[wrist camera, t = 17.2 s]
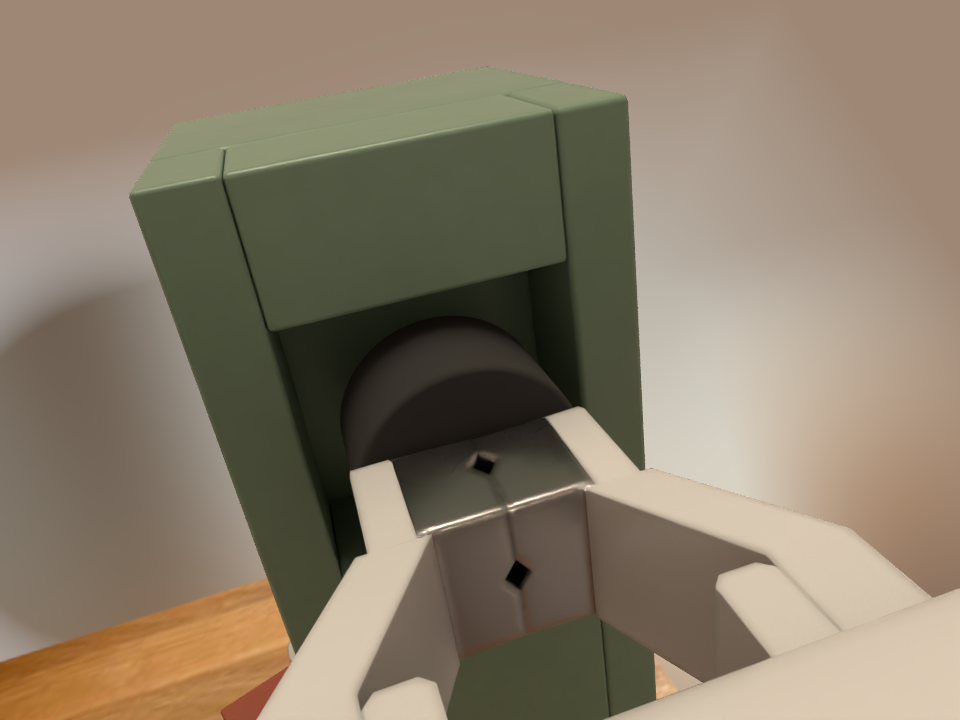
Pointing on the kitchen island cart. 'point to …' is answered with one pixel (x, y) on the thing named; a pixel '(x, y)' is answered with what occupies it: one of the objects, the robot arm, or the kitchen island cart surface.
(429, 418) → the button
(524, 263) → the green rectangular box
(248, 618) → the kitchen island cart surface
